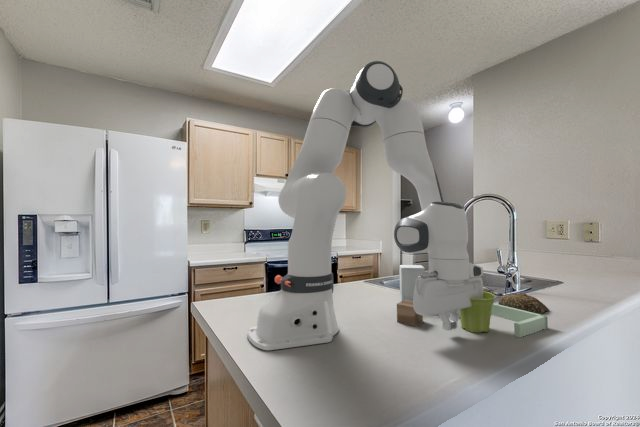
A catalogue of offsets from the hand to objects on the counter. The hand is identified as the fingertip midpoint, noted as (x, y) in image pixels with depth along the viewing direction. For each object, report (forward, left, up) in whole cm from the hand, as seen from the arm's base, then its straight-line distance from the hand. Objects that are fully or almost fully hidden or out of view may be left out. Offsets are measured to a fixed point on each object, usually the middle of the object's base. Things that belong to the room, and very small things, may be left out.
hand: (450, 328), depth 70 cm
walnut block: (-1, +12, -2) cm, 12 cm away
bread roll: (+38, +4, -2) cm, 38 cm away
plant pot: (+9, 0, -2) cm, 9 cm away
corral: (+18, 0, -2) cm, 18 cm away
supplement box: (+11, +23, -2) cm, 26 cm away
